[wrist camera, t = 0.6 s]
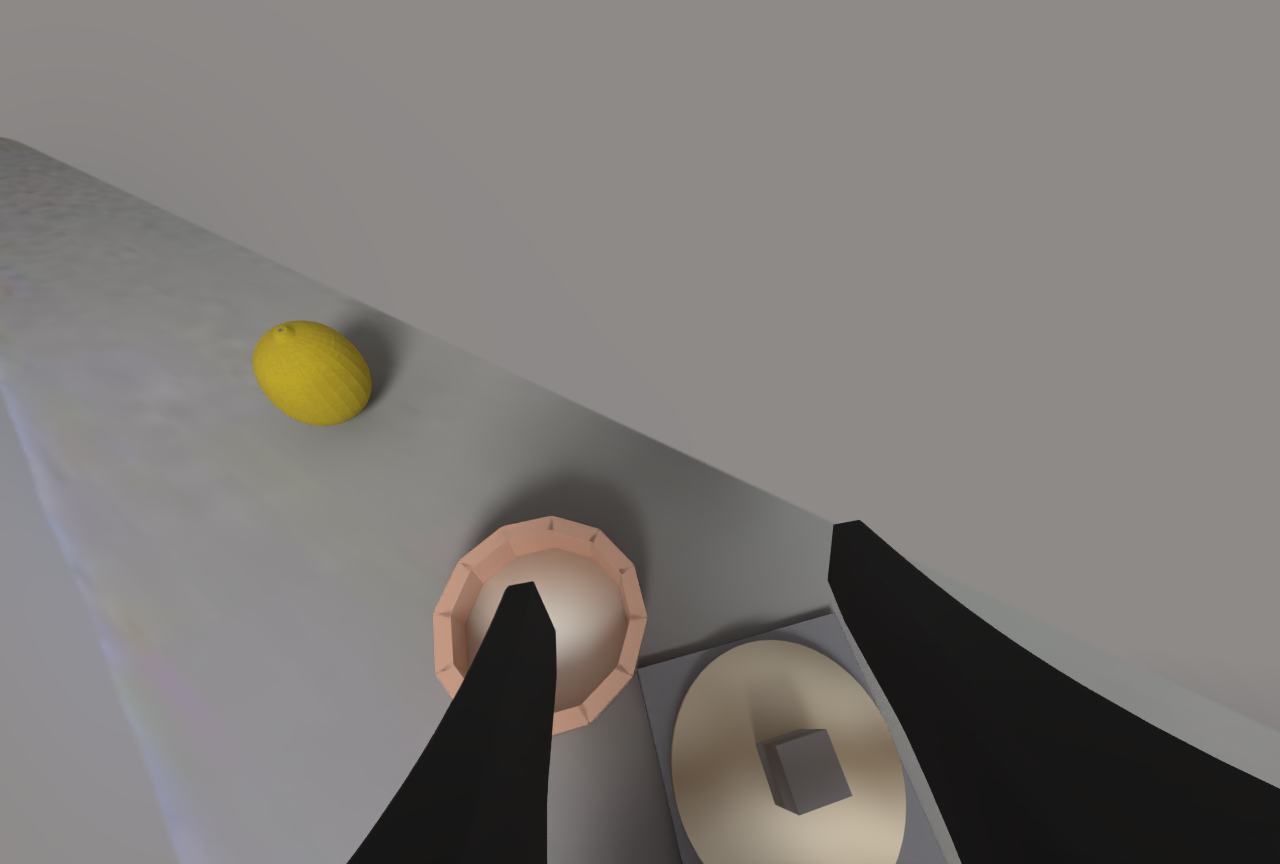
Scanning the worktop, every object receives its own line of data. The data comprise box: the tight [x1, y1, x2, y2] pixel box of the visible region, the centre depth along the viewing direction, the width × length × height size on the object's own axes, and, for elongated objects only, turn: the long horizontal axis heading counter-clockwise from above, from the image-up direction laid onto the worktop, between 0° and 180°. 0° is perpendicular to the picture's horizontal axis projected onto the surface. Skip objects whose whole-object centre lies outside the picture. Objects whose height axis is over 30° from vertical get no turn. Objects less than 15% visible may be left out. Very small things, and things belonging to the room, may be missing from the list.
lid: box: [671, 640, 906, 864], centre depth 22 cm, size 11×11×4 cm
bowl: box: [433, 516, 647, 736], centre depth 25 cm, size 10×10×4 cm
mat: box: [637, 613, 947, 864], centre depth 24 cm, size 12×12×1 cm
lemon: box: [252, 321, 372, 426], centre depth 29 cm, size 6×6×8 cm
